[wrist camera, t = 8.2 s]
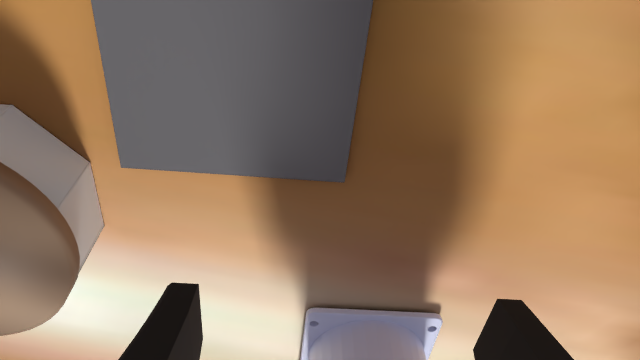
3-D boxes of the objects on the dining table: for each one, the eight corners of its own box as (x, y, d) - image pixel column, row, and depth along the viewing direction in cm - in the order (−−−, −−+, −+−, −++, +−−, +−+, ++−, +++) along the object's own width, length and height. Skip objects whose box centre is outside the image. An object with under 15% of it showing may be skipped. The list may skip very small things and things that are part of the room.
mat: (344, 177, 22) (344, 182, 21) (124, 162, 21) (120, 167, 21) (380, -61, 16) (382, -59, 16) (79, -93, 15) (74, -92, 15)
